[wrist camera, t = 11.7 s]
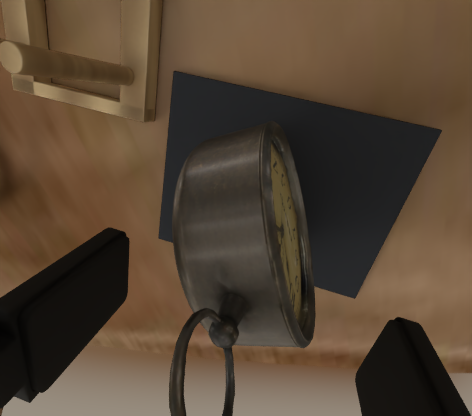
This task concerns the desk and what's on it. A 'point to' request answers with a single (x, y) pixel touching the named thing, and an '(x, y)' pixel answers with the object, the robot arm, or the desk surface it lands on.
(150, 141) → the desk surface
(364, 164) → the desk mat
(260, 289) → the alarm clock
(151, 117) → the dowel rack
